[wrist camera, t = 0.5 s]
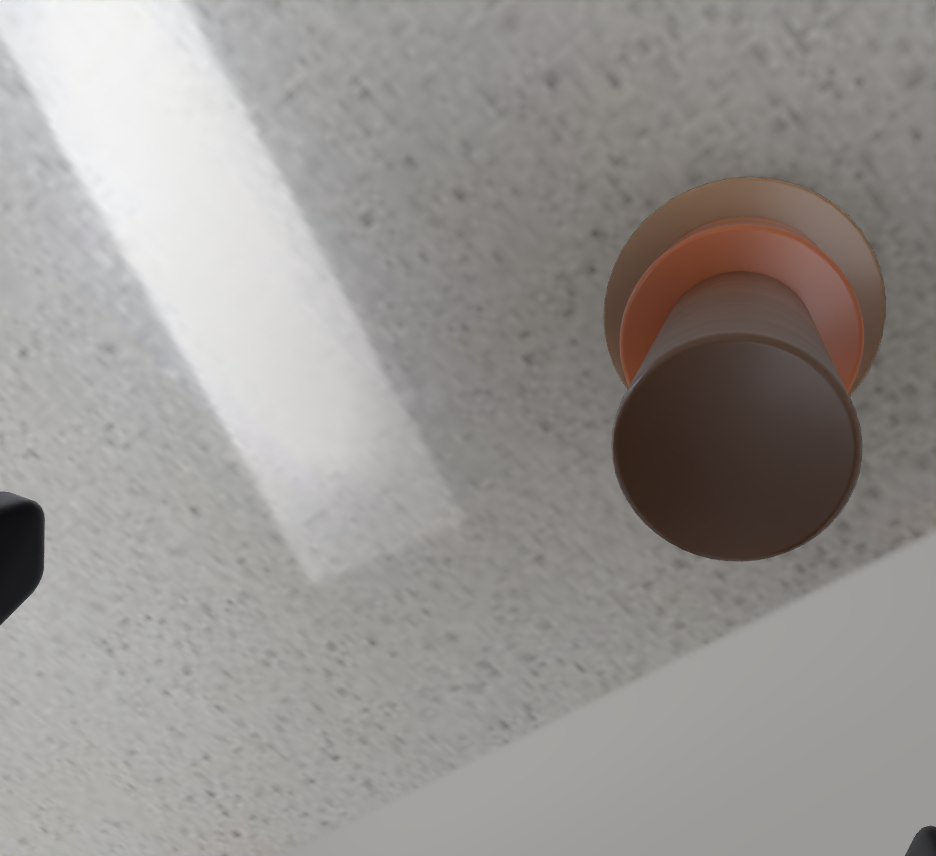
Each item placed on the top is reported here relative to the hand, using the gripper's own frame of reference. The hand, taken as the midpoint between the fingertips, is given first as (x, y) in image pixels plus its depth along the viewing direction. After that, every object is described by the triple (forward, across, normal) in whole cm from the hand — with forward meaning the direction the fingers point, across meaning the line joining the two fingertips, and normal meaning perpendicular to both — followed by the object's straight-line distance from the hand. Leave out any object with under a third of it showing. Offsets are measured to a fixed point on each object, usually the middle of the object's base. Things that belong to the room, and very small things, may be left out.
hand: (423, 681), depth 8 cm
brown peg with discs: (+8, -2, -3) cm, 9 cm away
